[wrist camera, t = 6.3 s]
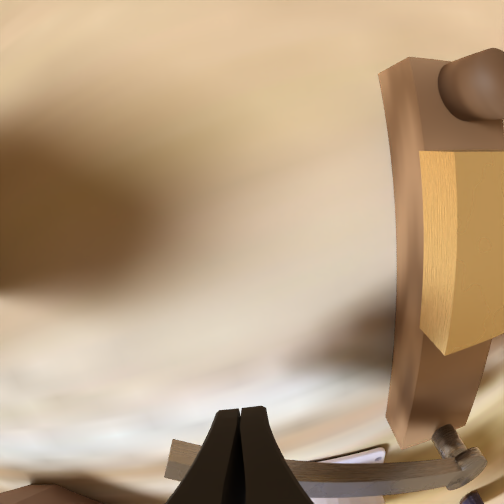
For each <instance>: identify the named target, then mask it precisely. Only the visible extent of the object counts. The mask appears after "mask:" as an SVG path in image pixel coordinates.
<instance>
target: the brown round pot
mask: <svg viewBox="0 0 504 504" xmlns="http://www.w3.org/2000/svg"><path fill="white" fill-rule="evenodd" d="M0 504H104V503H101V502H98V501H95V500H93V499H90V498H87V497H85V496H82V495H80V494H77V493H75V492H73V491H70V490H68V489H66V488H63V487H61V486H59V485H57V484H47V485H28V486H24V487H21V488H17V489H14V490H10V491H6V492H3V493H0Z"/></svg>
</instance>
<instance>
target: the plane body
mask: <svg viewBox="0 0 504 504" xmlns="http://www.w3.org/2000/svg"><path fill="white" fill-rule="evenodd" d="M378 76H379V81H380V86H381V92H382V98H383V103H384V109H385V116H386V122H387V129H388V137H389V145H390V153H391V162H392V172H393V184H394V197H395V213H396V238H397V296H396V321H395V337H394V350H393V361H392V371H391V380H390V389H389V397H388V404H387V411H386V419H387V421H388V423H389V425H390V427H391V429H392V431H393V433H394V435H395V437H396V439H397V442H398V444H399V446H400V448H401V450H403V449H406V448H409V447H411V446H414V445H417V444H420V443H423V442H425V441H428V440H431V438H432V435H433V434H434V433H435V431H436V430H438V429H439V428H440V427H442V426H444V425H447V424H451V425H452V426H453V427H454V429H455V430H456V429H458V428H460V427H462V426H465V424H466V422H467V419H468V416H469V414H470V411H471V408H472V405H473V403H474V400H475V397H476V394H477V391H478V387H479V384H480V381H481V378H482V374H483V371H484V367H485V364H486V360H487V356H488V352H489V348H490V344H491V340H492V339H489V340H487V341H484V342H482V343H479V344H476V345H474V346H471V347H468V348H466V349H463V350H460V351H457V352H455V353H452V354H449V355H446V356H444V355H443V353H442V352H441V351H440V350H439V349H438V348H437V347H436V346H435V344H434V343H433V342H432V341H431V340H430V339H429V338H428V337H427V336H426V334H425V333H424V332H423V331H422V330H421V329H420V328H419V327H420V316H421V303H422V287H423V259H424V224H423V196H422V180H421V167H420V157H419V151H430V150H479V149H482V150H504V129H503V121H502V119H504V52H503V51H501V50H499V49H496V48H490V49H487V50H484V51H481V52H478V53H475V54H472V55H469V56H466V57H464V58H461V59H458V60H455V61H453V62H450V61H442V60H434V59H425V58H415V57H408V58H406V59H404V60H402V61H401V62H399V63H397V64H395V65H393V66H391V67H390V68H388V69H386V70H384V71H383V72H381V73H379V74H378Z"/></svg>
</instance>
